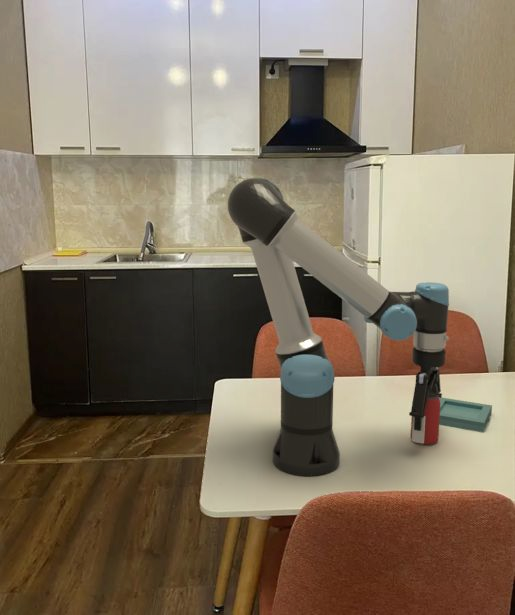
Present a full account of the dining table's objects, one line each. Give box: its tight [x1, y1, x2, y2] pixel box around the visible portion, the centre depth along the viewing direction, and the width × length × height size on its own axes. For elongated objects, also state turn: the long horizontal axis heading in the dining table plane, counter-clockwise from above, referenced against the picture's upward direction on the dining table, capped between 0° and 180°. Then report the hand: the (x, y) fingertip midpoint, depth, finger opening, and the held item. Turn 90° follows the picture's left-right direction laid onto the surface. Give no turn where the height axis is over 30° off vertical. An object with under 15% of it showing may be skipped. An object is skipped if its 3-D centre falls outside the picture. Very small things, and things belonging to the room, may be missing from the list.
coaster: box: [439, 397, 493, 433], centre depth 163 cm, size 14×14×2 cm
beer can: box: [410, 391, 440, 446], centre depth 148 cm, size 7×7×12 cm
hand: (424, 431), depth 148 cm, fingers open, 13 cm apart
